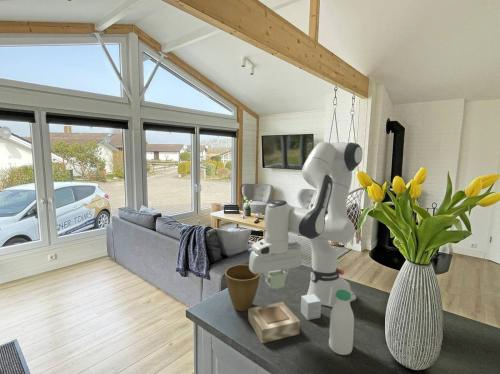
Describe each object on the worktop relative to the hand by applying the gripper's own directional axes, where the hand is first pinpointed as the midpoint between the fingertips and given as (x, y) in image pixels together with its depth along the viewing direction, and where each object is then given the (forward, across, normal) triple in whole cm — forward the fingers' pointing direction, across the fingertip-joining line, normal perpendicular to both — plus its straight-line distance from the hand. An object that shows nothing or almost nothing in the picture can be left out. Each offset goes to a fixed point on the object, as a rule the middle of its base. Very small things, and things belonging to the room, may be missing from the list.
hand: (275, 280), depth 101 cm
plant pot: (+19, +7, -18) cm, 27 cm away
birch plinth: (+19, 0, -1) cm, 19 cm away
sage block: (+2, 0, 0) cm, 2 cm away
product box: (+19, -18, -3) cm, 26 cm away
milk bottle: (+19, -17, +17) cm, 31 cm away
